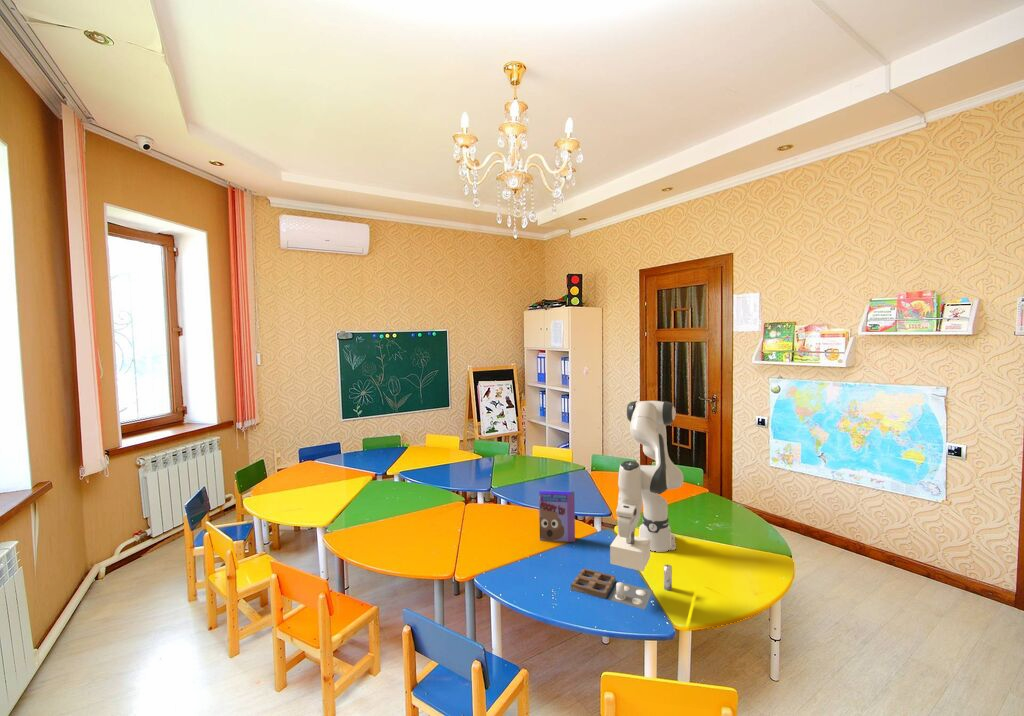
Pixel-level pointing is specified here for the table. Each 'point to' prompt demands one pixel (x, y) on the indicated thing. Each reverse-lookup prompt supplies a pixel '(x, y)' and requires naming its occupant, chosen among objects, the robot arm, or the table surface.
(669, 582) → the steel pin
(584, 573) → the socket board
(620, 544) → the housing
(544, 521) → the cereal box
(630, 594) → the board
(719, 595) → the table surface
